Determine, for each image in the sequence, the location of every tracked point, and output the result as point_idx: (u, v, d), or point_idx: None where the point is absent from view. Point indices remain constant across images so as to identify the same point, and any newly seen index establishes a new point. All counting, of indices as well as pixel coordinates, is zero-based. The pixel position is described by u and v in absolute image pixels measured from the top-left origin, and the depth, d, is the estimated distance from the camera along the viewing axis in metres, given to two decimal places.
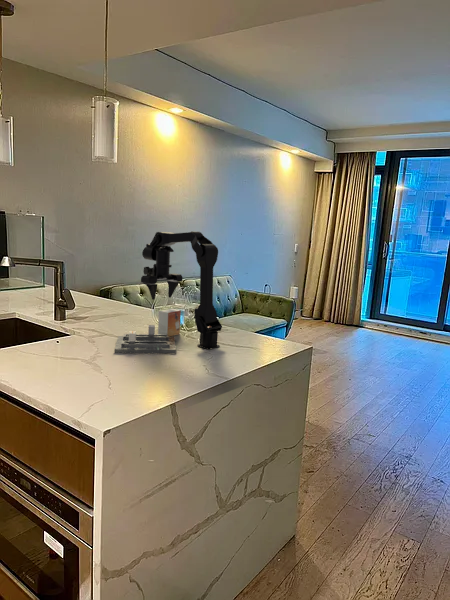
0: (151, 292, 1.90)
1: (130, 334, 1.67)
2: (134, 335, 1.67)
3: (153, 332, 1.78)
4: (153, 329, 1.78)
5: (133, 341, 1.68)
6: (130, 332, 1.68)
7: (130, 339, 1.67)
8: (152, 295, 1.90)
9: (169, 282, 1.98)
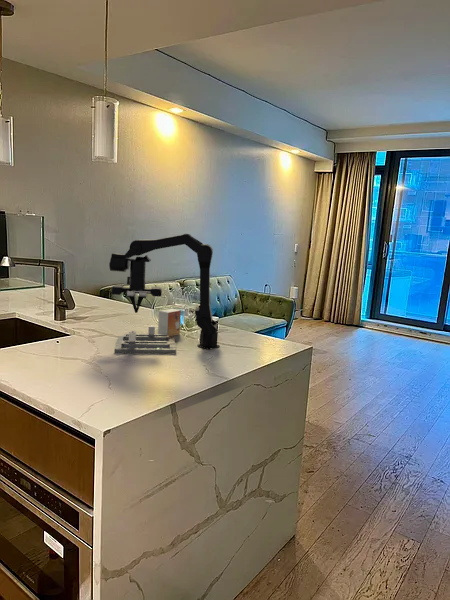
0: None
1: (130, 334, 1.67)
2: (134, 335, 1.67)
3: (153, 332, 1.78)
4: (153, 329, 1.78)
5: (133, 341, 1.68)
6: (130, 332, 1.68)
7: (130, 339, 1.67)
8: None
9: None
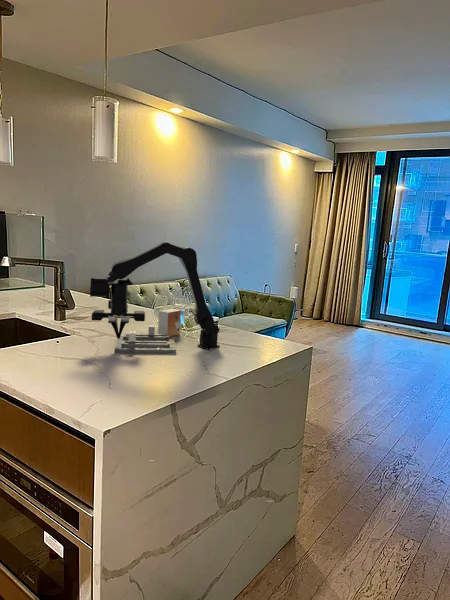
0: None
1: (130, 334, 1.67)
2: (134, 335, 1.67)
3: (153, 332, 1.78)
4: (153, 329, 1.78)
5: (133, 341, 1.68)
6: (130, 332, 1.68)
7: (130, 339, 1.67)
8: (116, 333, 1.67)
9: None
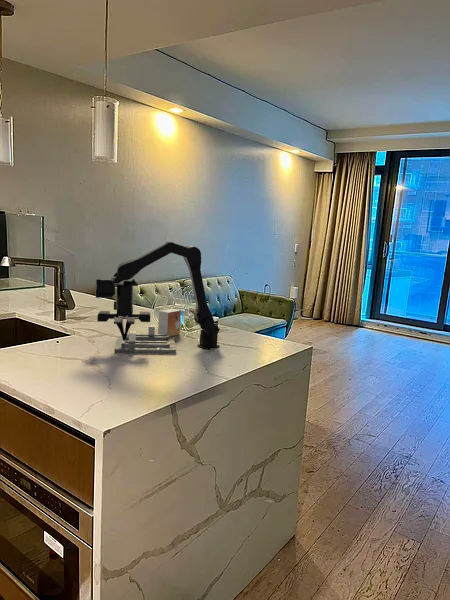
0: None
1: (130, 334, 1.67)
2: (134, 335, 1.67)
3: (153, 332, 1.78)
4: (153, 329, 1.78)
5: (133, 341, 1.68)
6: (130, 332, 1.68)
7: (130, 339, 1.67)
8: (121, 334, 1.68)
9: None
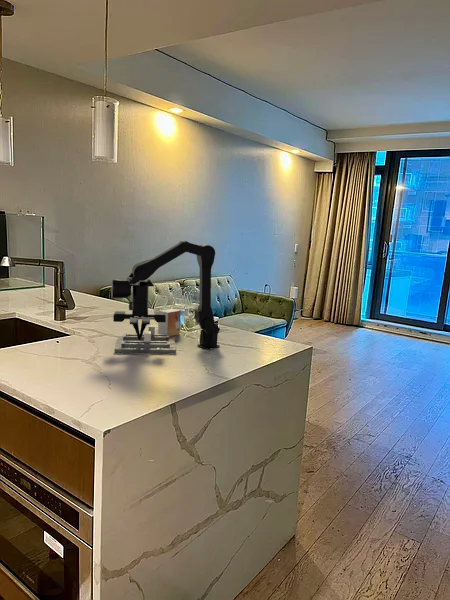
0: None
1: (145, 334, 1.67)
2: (149, 335, 1.68)
3: (153, 332, 1.78)
4: (153, 329, 1.78)
5: None
6: (145, 332, 1.69)
7: (145, 339, 1.68)
8: (137, 334, 1.69)
9: None
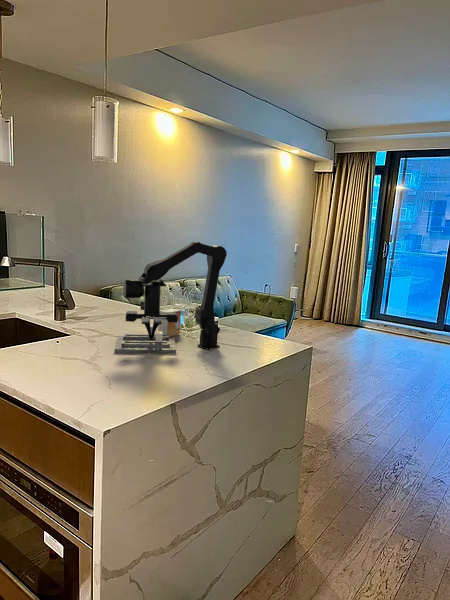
0: None
1: (157, 334, 1.68)
2: (161, 335, 1.68)
3: None
4: None
5: None
6: (157, 332, 1.69)
7: (157, 339, 1.69)
8: None
9: (153, 321, 1.70)
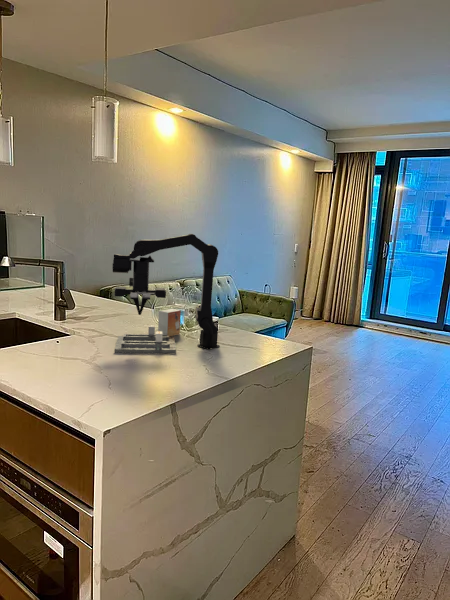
0: None
1: (157, 334, 1.68)
2: (161, 335, 1.68)
3: (153, 332, 1.78)
4: (153, 329, 1.78)
5: None
6: (157, 332, 1.69)
7: (157, 339, 1.69)
8: (137, 310, 1.72)
9: (142, 297, 1.72)
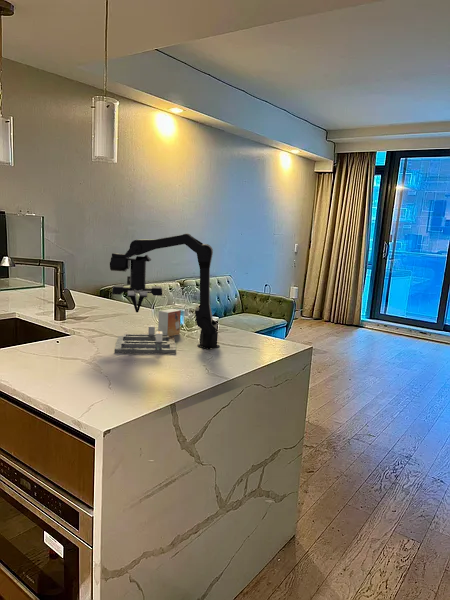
0: None
1: (157, 334, 1.68)
2: (161, 335, 1.68)
3: (153, 332, 1.78)
4: (153, 329, 1.78)
5: None
6: (157, 332, 1.69)
7: (157, 339, 1.69)
8: (134, 307, 1.77)
9: None
